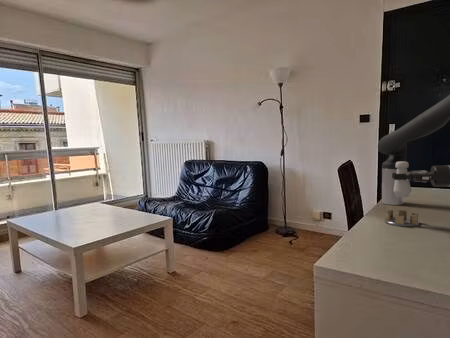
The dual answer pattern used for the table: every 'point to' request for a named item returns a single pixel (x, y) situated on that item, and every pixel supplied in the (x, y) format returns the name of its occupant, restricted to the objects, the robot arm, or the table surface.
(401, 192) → the salt shaker
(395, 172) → the robot arm
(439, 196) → the table surface
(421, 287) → the table surface
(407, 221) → the disc with wooden blocks
